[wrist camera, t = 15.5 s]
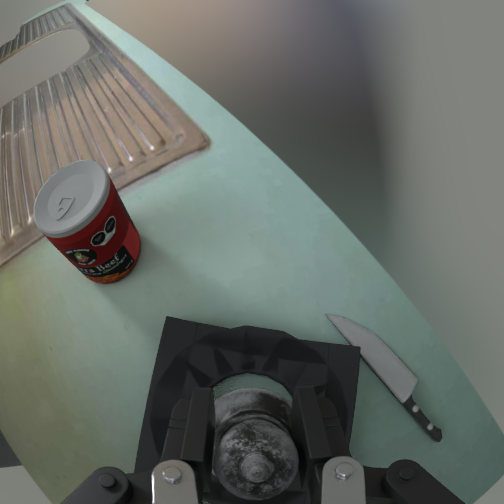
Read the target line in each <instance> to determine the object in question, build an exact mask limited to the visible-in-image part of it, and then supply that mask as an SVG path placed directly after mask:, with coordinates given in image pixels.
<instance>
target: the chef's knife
mask: <svg viewBox="0 0 504 504" xmlns="http://www.w3.org/2000/svg"><path fill="white" fill-rule="evenodd" d="M326 315H327V317H328V318H329V319H330V320H331V321H332V323H333V324H334V325H335V326H336V327H337V329H338V330H339V331H340V332H341V333H342V334H343V336H344V337H345V338H346V339H347V340H348V341H349V343H350V344H351V345H352V346H360V347H361V351H360V355H361V357H362V358H363V359H364V360H365V361H366V362H367V364H368V365H369V366H370V367H371V368H372V369H373V370H374V372H375V373H376V374H377V375H378V376H379V377H380V379H381V380H382V381H383V382H384V383H385V384H386V386H387V387H388V388H389V389H390V390H391V391H392V392H393V394H394V395H395V396H396V397H397V398H398V399H399V401H400V402H401V403H402V404H403V405H404V406H405V407H406V408H407V409H408V410H409V411H410V412H411V414H412V415H413V416H414V417H415V418H416V419H417V421H418V422H419V423H420V424H421V425H422V426H423V428H424V429H425V430H426V431H427V432H428V434H429V435H430V436H431V437H432V438H433V439H434V440H435V441H436V442H440V441H441V439H442V433H441V429H438V428H436V427H435V426H434V425H433V424H431V423H430V421H429V420H428V419H427V418H426V417H425V415H424V414H423V413H422V411H421V410H420V408H419V407H418V405H417V404H416V403H415V402H414V400H413V399H412V392H413V390H414V387H415V385H416V384H417V382H418V379H417V378H416V377H415V376H414V375H413V374H412V373H411V371H410V370H409V369H408V368H407V367H406V366H405V365H404V364H403V363H402V362H401V360H400V359H399V358H398V357H397V356H396V355H395V354H394V353H393V352H392V351H391V350H390V349H389V347H388V346H387V345H386V344H385V343H384V342H383V341H382V340H380V339H379V338H378V337H377V336H376V335H374V334H373V333H372V332H370V331H368V330H366V329H365V328H363V327H361V326H359V325H357V324H355V323H353V322H351V321H349V320H348V319H346V318H343V317H338V316H333V315H328V314H326Z"/></svg>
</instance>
